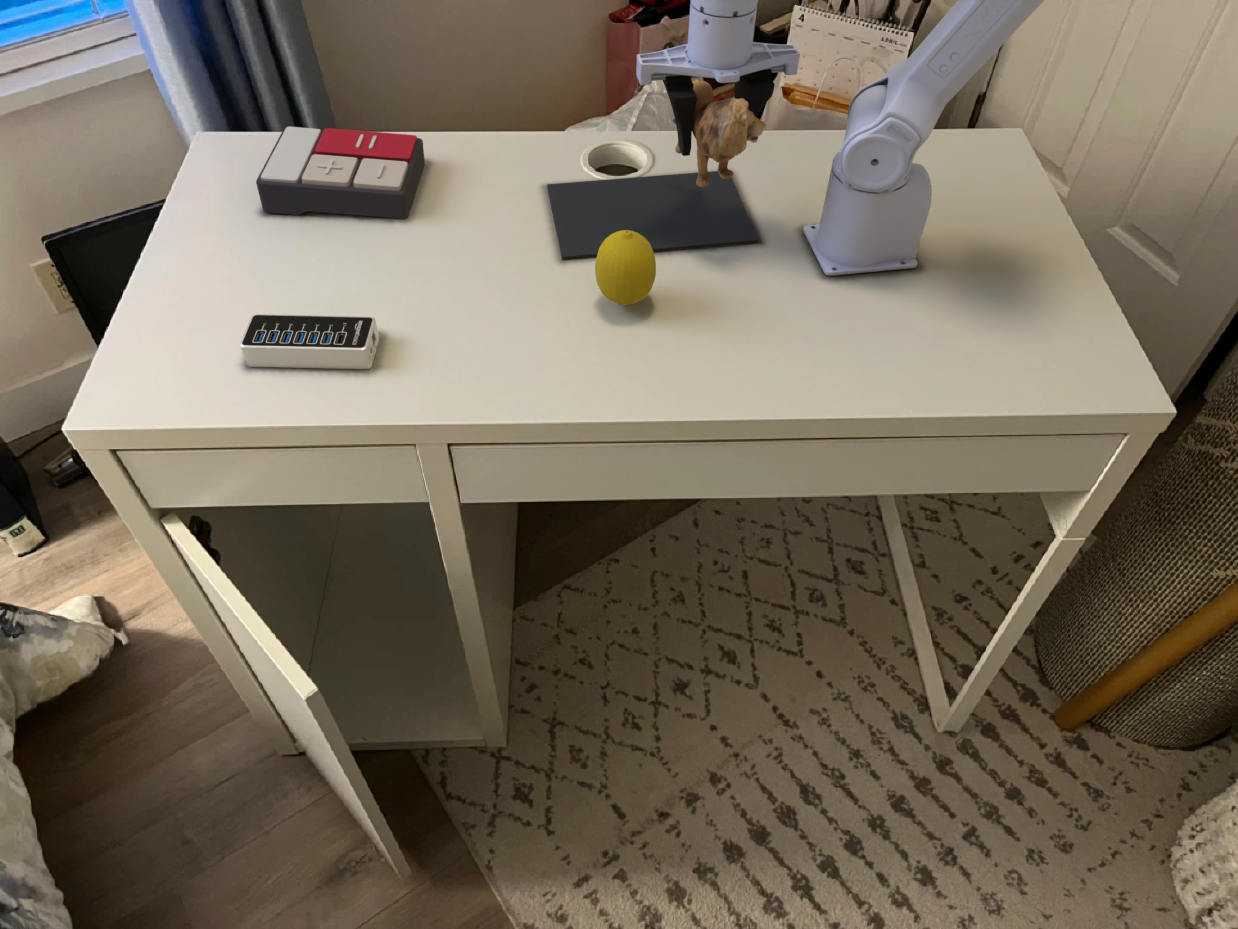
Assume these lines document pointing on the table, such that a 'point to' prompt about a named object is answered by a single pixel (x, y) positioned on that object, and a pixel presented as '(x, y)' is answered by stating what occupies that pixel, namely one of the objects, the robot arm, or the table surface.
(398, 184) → the button control box
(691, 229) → the desk mat
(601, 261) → the lemon
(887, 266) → the robot arm
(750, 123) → the lion figurine
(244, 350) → the multiport hub
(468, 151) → the table surface
